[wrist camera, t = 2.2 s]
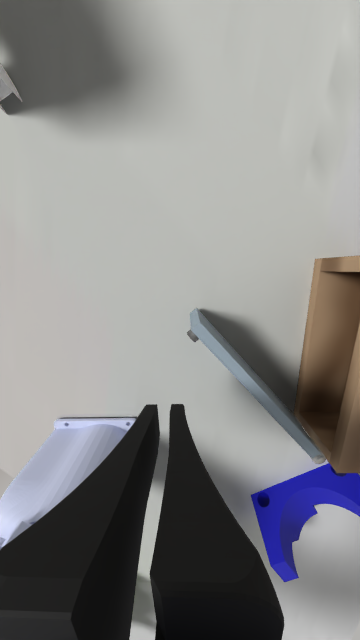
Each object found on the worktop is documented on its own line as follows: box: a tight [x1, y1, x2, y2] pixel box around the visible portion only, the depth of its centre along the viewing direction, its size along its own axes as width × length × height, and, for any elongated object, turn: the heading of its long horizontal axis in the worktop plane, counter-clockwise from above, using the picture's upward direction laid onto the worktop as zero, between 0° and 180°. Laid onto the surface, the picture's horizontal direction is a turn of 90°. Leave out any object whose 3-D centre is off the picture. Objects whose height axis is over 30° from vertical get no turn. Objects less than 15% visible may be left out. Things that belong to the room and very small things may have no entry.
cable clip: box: [251, 463, 360, 582], centre depth 20 cm, size 12×4×6 cm, turn 124°
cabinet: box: [294, 256, 360, 473], centre depth 15 cm, size 5×16×6 cm, turn 3°
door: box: [187, 308, 326, 464], centre depth 16 cm, size 2×16×5 cm, turn 42°
